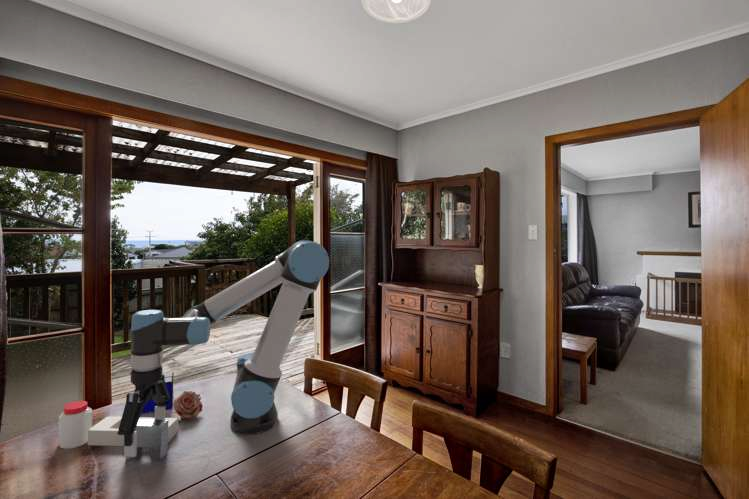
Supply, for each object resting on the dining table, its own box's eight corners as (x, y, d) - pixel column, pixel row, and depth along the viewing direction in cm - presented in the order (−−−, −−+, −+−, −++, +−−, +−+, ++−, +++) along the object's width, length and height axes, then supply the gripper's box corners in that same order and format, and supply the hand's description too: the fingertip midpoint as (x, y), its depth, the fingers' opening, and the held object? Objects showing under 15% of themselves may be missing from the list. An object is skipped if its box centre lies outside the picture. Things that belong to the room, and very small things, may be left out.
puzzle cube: (139, 414, 126) (139, 386, 125) (142, 402, 135) (142, 375, 134) (172, 409, 131) (172, 381, 130) (173, 397, 139) (173, 371, 139)
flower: (163, 413, 124) (169, 399, 120) (185, 397, 132) (192, 383, 129) (182, 433, 122) (189, 419, 119) (204, 415, 130) (211, 402, 127)
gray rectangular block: (168, 453, 105) (168, 419, 104) (161, 461, 101) (161, 426, 101) (132, 453, 105) (132, 418, 104) (124, 460, 101) (124, 425, 101)
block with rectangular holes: (177, 431, 116) (177, 418, 116) (163, 446, 108) (163, 431, 108) (107, 430, 116) (107, 416, 115) (87, 445, 108) (87, 430, 107)
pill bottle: (73, 450, 105) (73, 413, 104) (51, 446, 106) (51, 409, 106) (98, 435, 112) (98, 400, 112) (78, 432, 114) (78, 397, 113)
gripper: (158, 351, 114) (157, 417, 115) (100, 385, 89) (100, 469, 90) (183, 352, 114) (182, 418, 115) (131, 386, 89) (131, 470, 90)
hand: (146, 441), depth 103 cm, fingers open, 13 cm apart
